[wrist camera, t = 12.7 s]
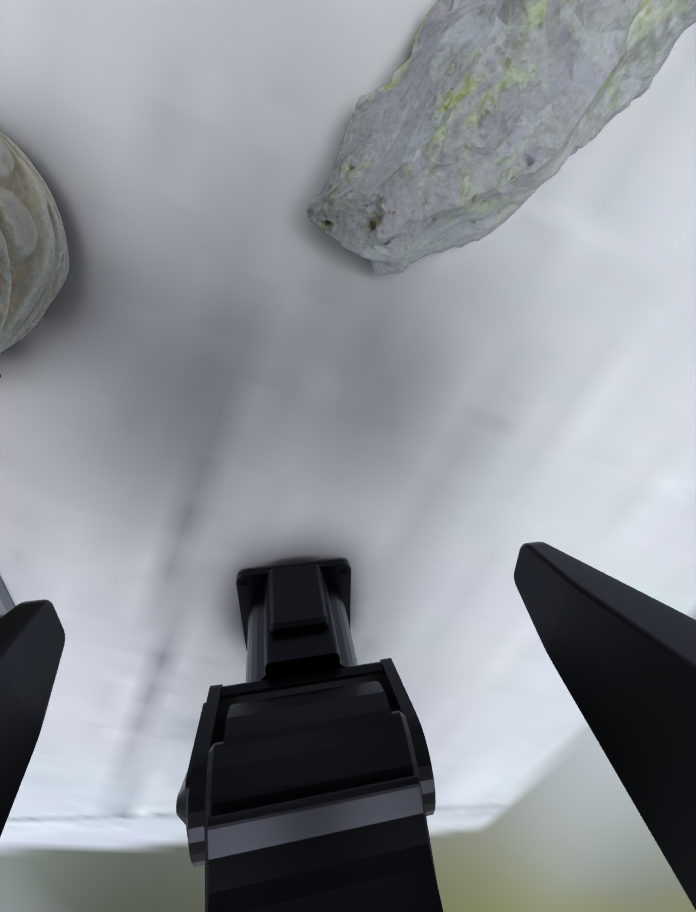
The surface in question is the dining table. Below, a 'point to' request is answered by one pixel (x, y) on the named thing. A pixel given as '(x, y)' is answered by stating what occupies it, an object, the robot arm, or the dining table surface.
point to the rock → (486, 117)
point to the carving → (27, 245)
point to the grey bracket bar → (4, 600)
